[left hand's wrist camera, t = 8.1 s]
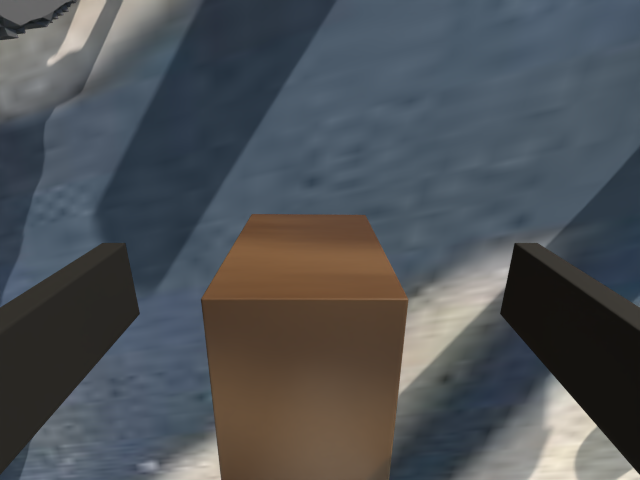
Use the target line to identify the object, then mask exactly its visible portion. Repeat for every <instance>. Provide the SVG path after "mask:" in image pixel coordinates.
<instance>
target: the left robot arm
mask: <svg viewBox="0 0 640 480" xmlns="http://www.w3.org/2000/svg"><path fill="white" fill-rule="evenodd" d="M139 314H140V312H139V308H138V303H137V298H136V293H135V288H134V283H133V278H132V273H131V269H130V264H129V259H128V254H127V249H126V244H125V243H102V244H100V245H99V246H97V247H96V248H94V249H92V250H91V251H89V252H88V253H86V254H85V255H83V256H81V257H80V258H78V259H77V260H75V261H73V262H72V263H70V264H69V265H67V266H66V267H64V268H62V269H61V270H59V271H58V272H56V273H54V274H53V275H51V276H50V277H48V278H46V279H45V280H43V281H42V282H40V283H39V284H37V285H35V286H34V287H32V288H31V289H29V290H27V291H26V292H24V293H23V294H21V295H20V296H18V297H16V298H15V299H13V300H12V301H10V302H8V303H7V304H5V305H4V306H2V307H1V308H0V474H1V473H2V472H3V471H4V470H5V469H6V467H7V466H8V465H9V464H10V463H11V462H12V461H13V459H14V458H15V457H16V456H17V455H18V454H19V452H20V451H21V450H22V449H23V448H24V447H25V446H26V444H27V443H28V442H29V441H30V440H31V439H32V438H33V436H34V435H35V434H36V433H37V432H38V431H39V429H40V428H41V427H42V426H43V425H44V424H45V423H46V421H47V420H48V419H49V418H50V417H51V416H52V414H53V413H54V412H55V411H56V410H57V409H58V408H59V406H60V405H61V404H62V403H63V402H64V401H65V399H66V398H67V397H68V396H69V395H70V394H71V393H72V391H73V390H74V389H75V388H76V387H77V386H78V384H79V383H80V382H81V381H82V380H83V379H84V378H85V376H86V375H87V374H88V373H89V372H90V371H91V369H92V368H93V367H94V366H95V365H96V364H97V363H98V361H99V360H100V359H101V358H102V357H103V356H104V354H105V353H106V352H107V351H108V350H109V349H110V348H111V346H112V345H113V344H114V343H115V342H116V341H117V339H118V338H119V337H120V336H121V335H122V334H123V333H124V331H125V330H126V329H127V328H128V327H129V326H130V324H131V323H132V322H133V321H134V320H135V319H136V318H137V316H138V315H139ZM500 314H501V315H502V316H503V318H504V319H505V320H506V321H507V322H508V323H509V324H510V326H511V327H512V328H513V329H514V330H515V331H516V333H517V334H518V335H519V336H520V337H521V338H522V339H523V341H524V342H525V343H526V344H527V345H528V346H529V348H530V349H531V350H532V351H533V352H534V353H535V354H536V356H537V357H538V358H539V359H540V360H541V361H542V363H543V364H544V365H545V366H546V367H547V368H548V369H549V371H550V372H551V373H552V374H553V375H554V376H555V378H556V379H557V380H558V381H559V382H560V383H561V384H562V386H563V387H564V388H565V389H566V390H567V391H568V393H569V394H570V395H571V396H572V397H573V398H574V399H575V401H576V402H577V403H578V404H579V405H580V406H581V408H582V409H583V410H584V411H585V412H586V413H587V414H588V416H589V417H590V418H591V419H592V420H593V421H594V423H595V424H596V425H597V426H598V427H599V428H600V429H601V431H602V432H603V433H604V434H605V435H606V436H607V438H608V439H609V440H610V441H611V442H612V443H613V444H614V446H615V447H616V448H617V449H618V450H619V451H620V452H621V454H622V455H623V456H624V457H625V458H626V459H627V461H628V462H629V463H630V464H631V465H632V466H633V467H634V469H635V470H636V471H637V472H638V473H639V474H640V308H639V307H638V306H636V305H635V304H633V303H632V302H630V301H628V300H627V299H625V298H624V297H622V296H620V295H619V294H617V293H616V292H614V291H613V290H611V289H609V288H608V287H606V286H605V285H603V284H601V283H600V282H598V281H597V280H595V279H594V278H592V277H590V276H589V275H587V274H586V273H584V272H582V271H581V270H579V269H578V268H576V267H574V266H573V265H571V264H570V263H568V262H567V261H565V260H563V259H562V258H560V257H559V256H557V255H555V254H554V253H552V252H551V251H549V250H548V249H546V248H544V247H543V246H541V245H540V244H538V243H515V244H514V249H513V254H512V259H511V264H510V269H509V273H508V278H507V283H506V288H505V293H504V298H503V303H502V308H501V312H500Z"/></svg>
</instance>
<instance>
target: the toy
mask: <svg viewBox="0 0 640 480" xmlns="http://www.w3.org/2000/svg"><path fill="white" fill-rule="evenodd" d="M72 3H76V0H0V40H6V39H14V38H18V35H17V34H22V33H25V29H33V28H41V27H47V26H48V25H49V23H53V21H52V20H53V19H58V16H60V15H63V12H69V11H68V8H67V7H70V5H71V4H72Z"/></svg>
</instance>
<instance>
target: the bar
mask: <svg viewBox="0 0 640 480" xmlns="http://www.w3.org/2000/svg"><path fill="white" fill-rule="evenodd" d="M201 303H202V312H203V321H204V330H205V339H206V348H207V357H208V366H209V374H210V383H211V392H212V401H213V410H214V419H215V428H216V437H217V446H218V455H219V463H220V472H221V480H389V474H390V465H391V456H392V446H393V437H394V428H395V418H396V409H397V400H398V390H399V381H400V372H401V363H402V353H403V344H404V335H405V325H406V316H407V307H408V298H407V296H406V294H405V292H404V290H403V288H402V286H401V284H400V282H399V280H398V278H397V276H396V274H395V272H394V270H393V268H392V267H391V265H390V263H389V261H388V259H387V257H386V255H385V253H384V251H383V249H382V247H381V245H380V243H379V241H378V239H377V237H376V235H375V233H374V231H373V229H372V227H371V225H370V223H369V221H368V219H367V217H366V215H293V214H252V215H251V216H250V218H249V220H248V221H247V223H246V225H245V226H244V228H243V230H242V231H241V233H240V235H239V236H238V238H237V240H236V241H235V243H234V245H233V246H232V248H231V250H230V252H229V253H228V255H227V257H226V258H225V260H224V262H223V263H222V265H221V267H220V268H219V270H218V272H217V273H216V275H215V277H214V278H213V280H212V282H211V283H210V285H209V287H208V288H207V290H206V292H205V293H204V295H203V297H202V298H201Z"/></svg>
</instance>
